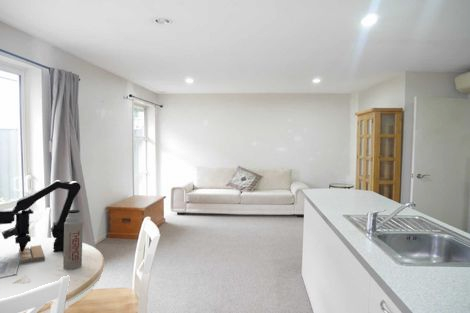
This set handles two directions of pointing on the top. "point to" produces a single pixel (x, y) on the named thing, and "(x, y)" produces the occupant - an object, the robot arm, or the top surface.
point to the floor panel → (35, 255)
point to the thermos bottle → (73, 241)
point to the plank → (25, 254)
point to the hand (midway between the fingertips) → (22, 251)
